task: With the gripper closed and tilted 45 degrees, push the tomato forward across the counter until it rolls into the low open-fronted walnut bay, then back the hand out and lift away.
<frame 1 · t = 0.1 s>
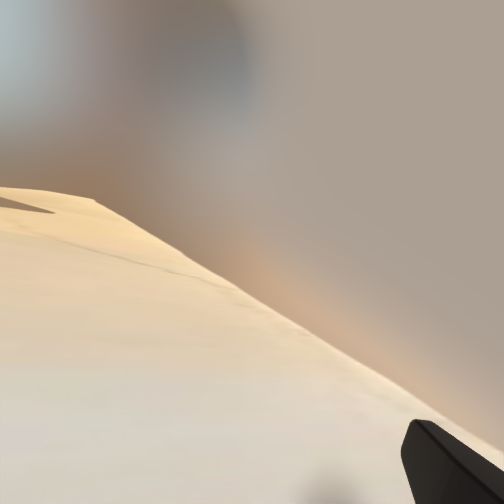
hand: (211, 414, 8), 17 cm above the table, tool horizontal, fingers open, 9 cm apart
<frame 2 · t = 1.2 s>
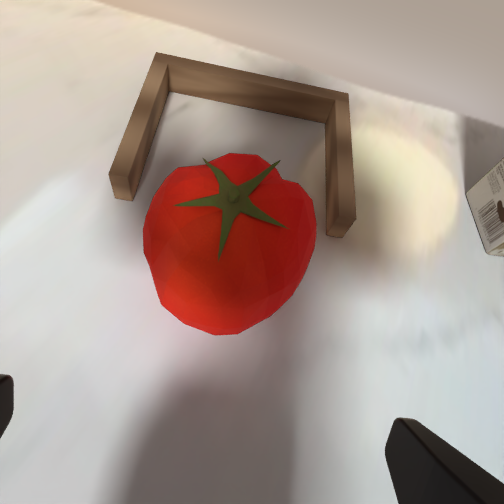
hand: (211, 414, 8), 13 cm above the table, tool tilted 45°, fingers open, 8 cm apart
tomato: (223, 275, 24), on the table
walnut bay: (242, 151, 29), on the table
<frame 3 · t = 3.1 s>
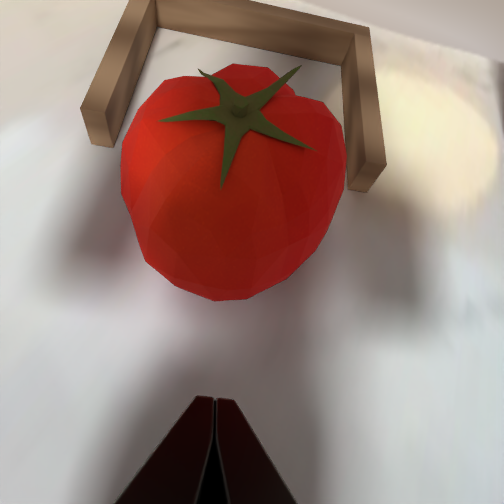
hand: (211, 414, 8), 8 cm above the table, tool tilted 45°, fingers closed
tomato: (225, 235, 19), on the table
walnut bay: (244, 94, 24), on the table
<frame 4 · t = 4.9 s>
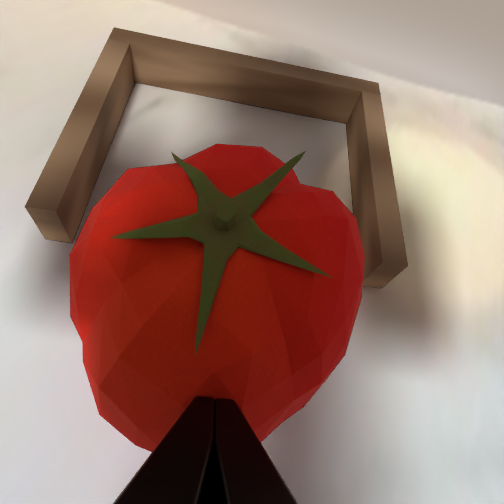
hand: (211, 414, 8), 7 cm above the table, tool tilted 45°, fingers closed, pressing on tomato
tomato: (212, 331, 16), on the table, touching gripper
walnut bay: (235, 164, 21), on the table
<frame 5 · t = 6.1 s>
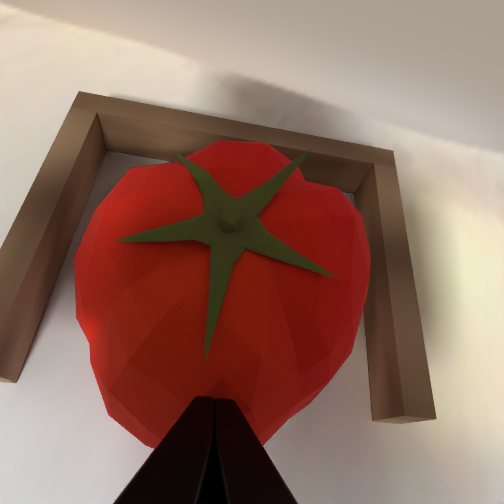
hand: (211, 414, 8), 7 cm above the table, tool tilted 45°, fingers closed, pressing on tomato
tomato: (217, 326, 16), on the table, touching gripper
walnut bay: (223, 256, 17), on the table
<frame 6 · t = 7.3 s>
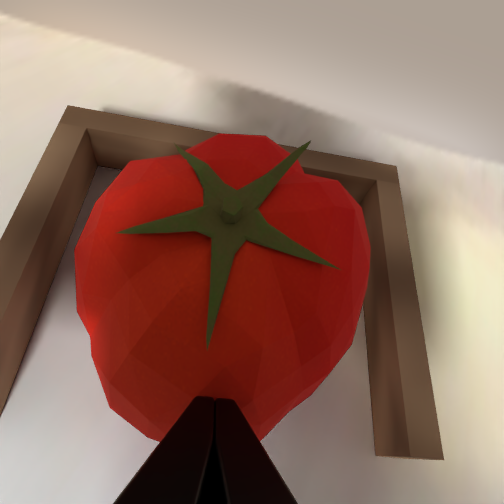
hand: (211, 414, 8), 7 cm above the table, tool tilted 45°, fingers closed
tomato: (217, 321, 16), on the table
walnut bay: (219, 278, 17), on the table
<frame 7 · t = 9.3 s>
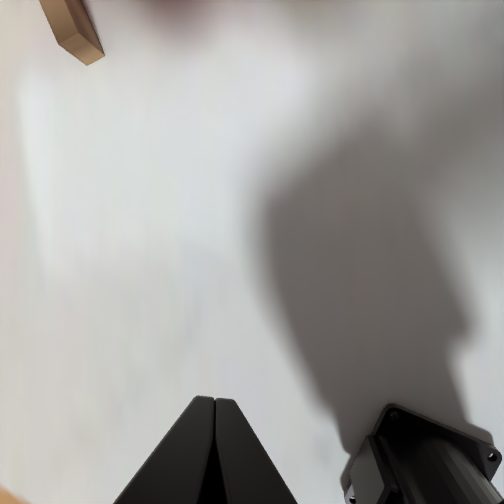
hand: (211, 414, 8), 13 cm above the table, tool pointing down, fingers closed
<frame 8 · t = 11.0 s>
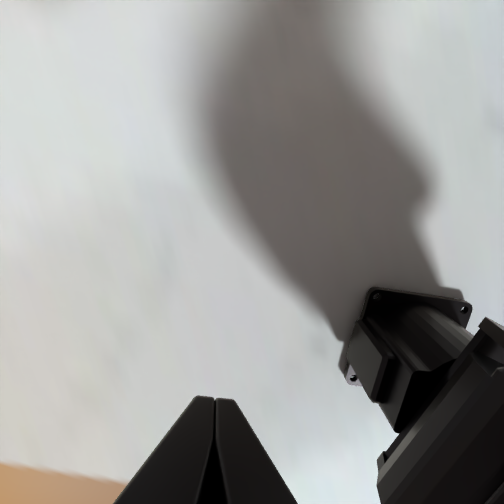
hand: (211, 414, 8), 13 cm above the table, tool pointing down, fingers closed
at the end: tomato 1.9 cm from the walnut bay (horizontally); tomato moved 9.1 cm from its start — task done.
